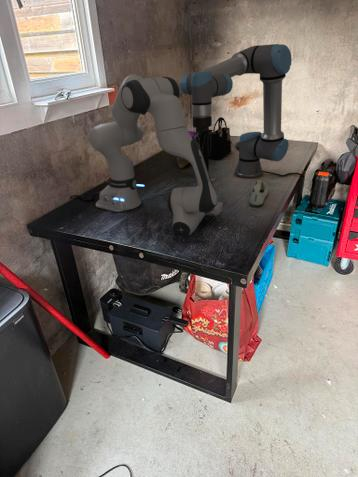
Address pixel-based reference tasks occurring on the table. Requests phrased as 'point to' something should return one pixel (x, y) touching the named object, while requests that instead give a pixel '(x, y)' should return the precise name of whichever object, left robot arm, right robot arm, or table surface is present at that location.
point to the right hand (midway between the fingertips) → (203, 173)
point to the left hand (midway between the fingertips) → (203, 198)
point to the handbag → (220, 141)
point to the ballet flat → (258, 193)
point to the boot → (182, 162)
